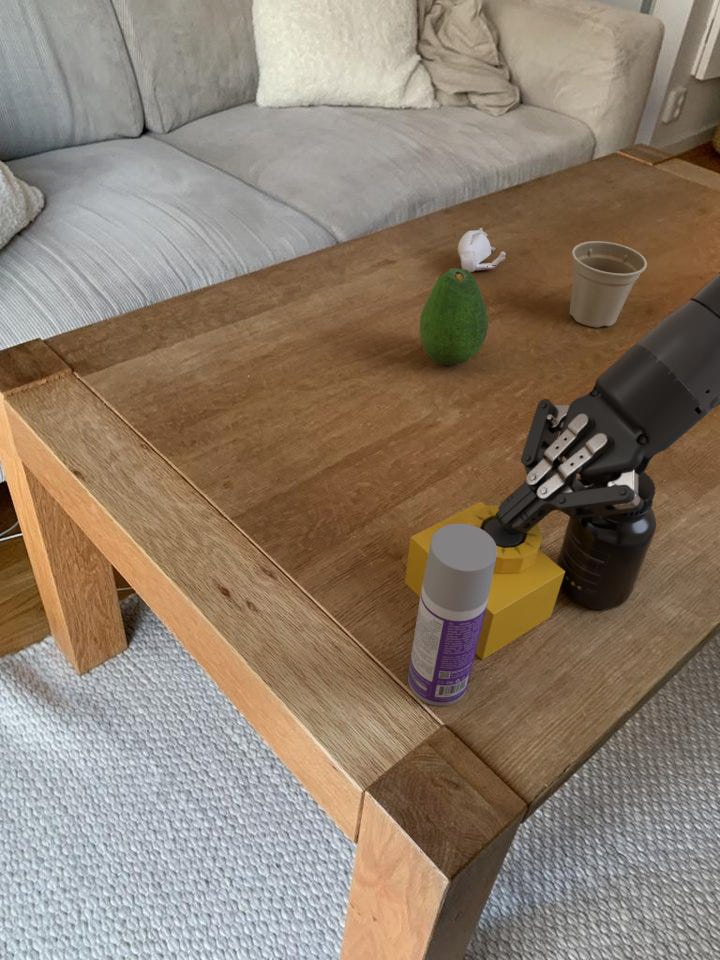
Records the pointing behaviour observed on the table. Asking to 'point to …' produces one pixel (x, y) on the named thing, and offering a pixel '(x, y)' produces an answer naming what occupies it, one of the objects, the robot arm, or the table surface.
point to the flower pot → (602, 281)
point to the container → (451, 612)
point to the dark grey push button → (502, 535)
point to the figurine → (476, 251)
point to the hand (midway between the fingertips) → (504, 526)
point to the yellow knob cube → (500, 580)
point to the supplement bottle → (607, 552)
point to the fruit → (454, 318)
